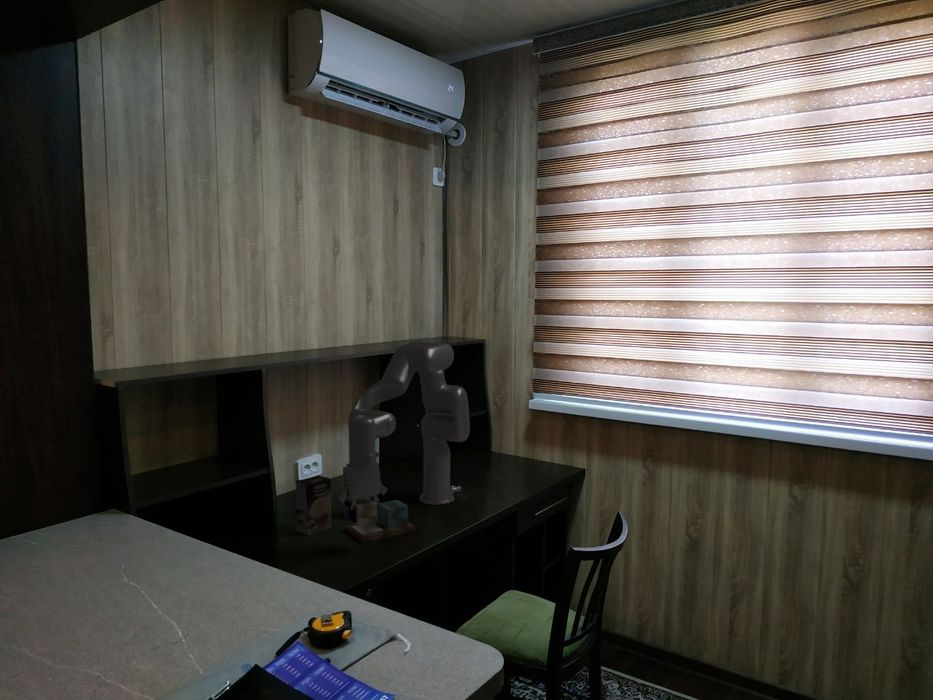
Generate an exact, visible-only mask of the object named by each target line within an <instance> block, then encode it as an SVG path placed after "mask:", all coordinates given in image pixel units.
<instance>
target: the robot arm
mask: <svg viewBox="0 0 933 700" xmlns="http://www.w3.org/2000/svg"><path fill="white" fill-rule="evenodd" d="M454 358H455V353H454V349H453V347H452V346H451V344H449V343H443V342H432V341H431V342H430V341H409V342H407V343H406V344H404V345H400V346H398V347H397V348H396V349H395V351H394V353H393V355H392V357H391V359H390V361H389V363H388V365H387V367H386V369H385V371H384V373H383V376H382V377H381V379H380V380H379V381H377V382H375V383H374V384H372V385H371V386H370V387H368V388H366V390H364V391H363V392H362V393H361V394H359V396H358V397H357V399H356V400H355V402H354V404H353V406H352V408H351V410H350V413H349V415H348V421H347V426H348V463H347V464H346V465H345V467H346V469H345V476H344V490H342V491H341V492H340V494H339V495H338V496H337V500H338V501H339V502H340V503H342V504H343V506H344V505H345V506H347V507H348V517H349V519H348V520H349V522H350V521H352V522H353V523H356V509H354V507H355V504H356V501H357V500H358V499H363V498H367V497H370V498H371V500H373V501H374V502H376V503H377V514H378V504H379V503H380V501H381V500H382V499H383V497H384V496H385V494H386V493H387V492H388V488H387V487H386V486H384V484H383V483H382V481H381V474H380V473H381V472H380V467H379V464H378V461H377V458H379V457H380V452H378V451H377V452H376V439H379V438H380V439H381V438H386V437H388V436H390V435H392V434H393V433H394V431H395V429H396V428H397V427H396V426H397V420H396V417H395V416H394V415H393V414H392V413H390V412H388V411H381V410H375V409H374V410H373V408H374V407H375V406H378V404H381V403H383V402H385V401H389V400H393V399H396V398H398V397H400V396H403V395H404V394H405V393H406V392H407V390H408V387H409V386H410V383H411V380H412V379H413V377H414V374H415V373H418V374H419V378H420V379H419V380H420V386H421V387H420V389H421V398H422V404H423V406H424V408H425V409H426V410H429V411H432V412H427V413H426V414H425V415H424V416H423V417H422V419H421V421H420V429H421V435H422V441H423V492H422V493H421V494H420V495H418V500H419V502H421V503H422V504H426V505H430V504H431V506H442V505H441V504H443V505H448V504H450V502H451V503H453V502H454V500H455V495H454V493H459V492H461V491H462V487H461V485H457V486H454V485H451V449H450V447H449V445H448V443H447V442H456V443H462V442H465V441H467V439H468V438H469V435H470V432H471V430H470V429H471V422H470V410H469V400H468V394H467V392H466V389H464V388H463V387H462V386H459V385H452V384H447V383H446V379H445V378H446V377H445V371H444V370H447V369H448V368H450V367H451V365H453V362H454ZM346 496H347V497H349V499H348V501H347V500H345V497H346ZM447 503H448V504H447ZM353 523H352V524H353Z"/></svg>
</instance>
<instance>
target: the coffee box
mask: <svg viewBox="0 0 933 700" xmlns="http://www.w3.org/2000/svg"><path fill="white" fill-rule="evenodd" d="M331 528H332V478H329V477H327V476H322V475H316V476H315V475H314V476H312V477H307V478H303V479H297V480H295V531H296V532H297V533H300V534H303V535H306V536H310V535H314V534H317V533H321V532H323V531H326V530H329V529H331Z"/></svg>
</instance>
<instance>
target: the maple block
mask: <svg viewBox="0 0 933 700" xmlns="http://www.w3.org/2000/svg"><path fill="white" fill-rule="evenodd" d="M354 509H356V523H353V522H352V521H350V520H349V522H350V524H351V523H352V524H354V525H356V526H357V527H358V528H359V527H363V526H368V525H372V524H376V523H377V519H378V516H377V503H376V502H374V501H373V500H371V499H369V498H363V499H358V500H357V501H356V504H355V507H354Z"/></svg>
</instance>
